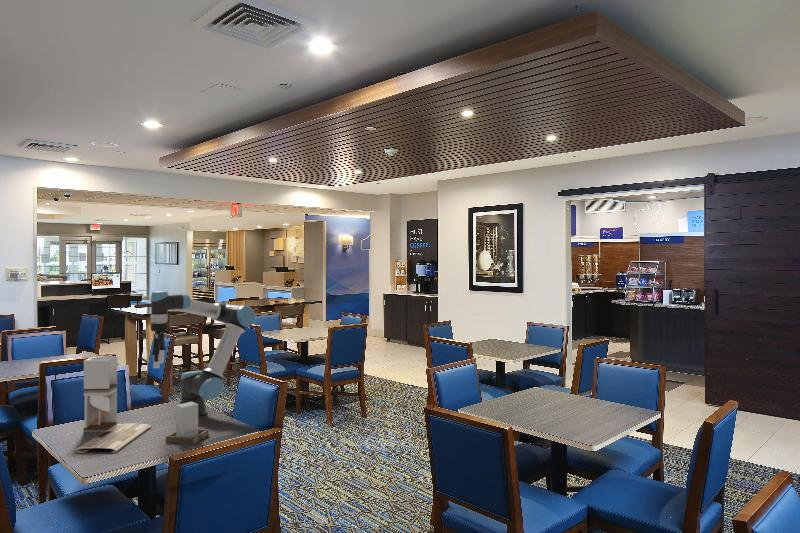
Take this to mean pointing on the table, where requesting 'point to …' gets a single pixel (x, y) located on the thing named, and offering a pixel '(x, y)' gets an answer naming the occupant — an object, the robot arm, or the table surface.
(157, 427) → the table surface
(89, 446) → the newspaper
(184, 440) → the walnut tray
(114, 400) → the paper towel dispenser
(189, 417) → the skincare box
